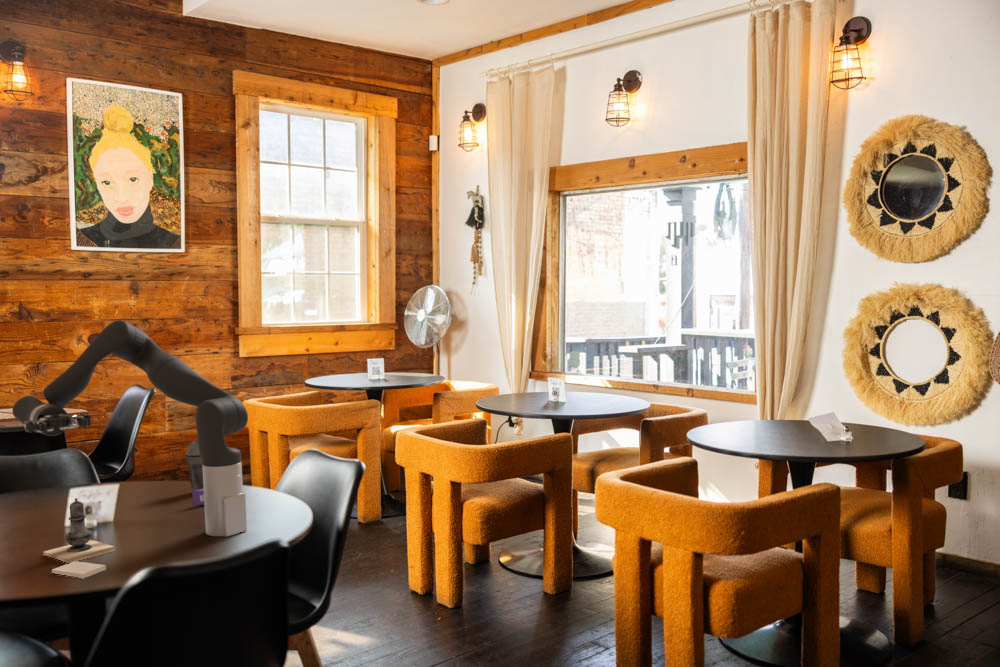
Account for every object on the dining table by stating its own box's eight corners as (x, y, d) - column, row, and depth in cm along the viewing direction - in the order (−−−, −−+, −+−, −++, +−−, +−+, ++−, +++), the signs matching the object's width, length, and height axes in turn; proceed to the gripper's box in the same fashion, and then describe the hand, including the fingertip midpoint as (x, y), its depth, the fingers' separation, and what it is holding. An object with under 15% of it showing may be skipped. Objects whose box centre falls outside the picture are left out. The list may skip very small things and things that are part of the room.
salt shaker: (83, 553, 198) (80, 501, 197) (59, 552, 198) (56, 501, 198) (98, 545, 203) (95, 494, 203) (75, 544, 204) (72, 494, 203)
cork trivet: (114, 550, 202) (114, 546, 202) (68, 563, 193) (67, 559, 193) (90, 543, 208) (89, 539, 208) (43, 555, 200) (43, 551, 200)
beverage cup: (186, 491, 260) (182, 425, 258) (211, 488, 263) (208, 423, 261) (188, 496, 253) (185, 428, 252) (214, 493, 256) (211, 426, 255)
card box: (105, 571, 189) (105, 565, 188) (83, 581, 183) (82, 574, 183) (75, 567, 192) (74, 561, 192) (52, 576, 186) (51, 569, 186)
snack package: (194, 508, 240) (193, 490, 239) (191, 507, 241) (190, 489, 241) (231, 499, 248) (231, 482, 248) (228, 498, 250) (227, 481, 249)
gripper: (16, 408, 216) (31, 413, 204) (78, 401, 225) (95, 406, 213) (18, 438, 217) (33, 445, 204) (79, 430, 226) (97, 436, 213)
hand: (65, 425), depth 208 cm, fingers open, 8 cm apart
